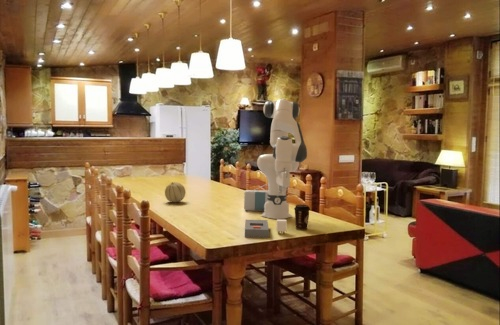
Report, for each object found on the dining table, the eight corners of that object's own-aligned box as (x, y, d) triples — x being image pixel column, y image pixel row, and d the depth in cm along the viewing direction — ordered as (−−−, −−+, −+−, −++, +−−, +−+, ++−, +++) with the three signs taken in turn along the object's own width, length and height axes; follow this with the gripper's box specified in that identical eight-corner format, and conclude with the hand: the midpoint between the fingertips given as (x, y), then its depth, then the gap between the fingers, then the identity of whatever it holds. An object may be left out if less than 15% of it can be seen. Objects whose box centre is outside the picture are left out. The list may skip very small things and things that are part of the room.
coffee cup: (308, 227, 230) (308, 204, 229) (310, 230, 222) (311, 207, 221) (292, 226, 230) (293, 204, 229) (294, 230, 222) (295, 206, 221)
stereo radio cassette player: (244, 211, 271) (244, 181, 269) (244, 208, 279) (245, 179, 278) (275, 212, 271) (276, 182, 269) (275, 209, 279) (275, 180, 277)
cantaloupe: (188, 201, 303) (188, 181, 302) (180, 204, 289) (180, 183, 288) (170, 200, 307) (170, 180, 306) (161, 203, 293) (161, 182, 291)
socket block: (245, 226, 228) (245, 218, 228) (266, 227, 228) (267, 219, 228) (244, 237, 206) (244, 228, 206) (268, 237, 206) (268, 228, 206)
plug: (276, 232, 217) (276, 219, 216) (285, 232, 217) (286, 219, 216) (276, 234, 213) (277, 220, 213) (286, 234, 213) (286, 221, 213)
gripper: (293, 169, 203) (292, 196, 203) (285, 166, 223) (284, 192, 224) (280, 168, 202) (279, 196, 203) (274, 166, 223) (273, 191, 223)
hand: (282, 194), depth 213 cm, fingers open, 8 cm apart
